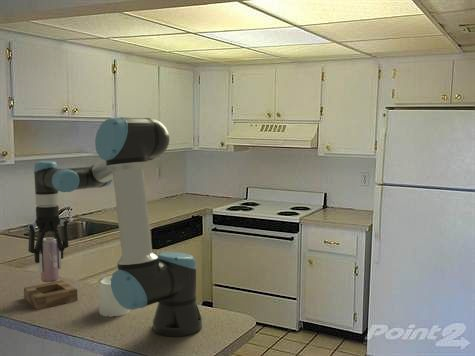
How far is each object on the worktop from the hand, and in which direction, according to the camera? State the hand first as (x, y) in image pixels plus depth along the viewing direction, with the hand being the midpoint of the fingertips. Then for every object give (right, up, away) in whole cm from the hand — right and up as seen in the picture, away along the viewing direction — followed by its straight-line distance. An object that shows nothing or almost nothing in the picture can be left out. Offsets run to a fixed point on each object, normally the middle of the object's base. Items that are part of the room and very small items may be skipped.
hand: (49, 269), depth 183 cm
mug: (+25, -12, -9) cm, 29 cm away
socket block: (0, -11, +1) cm, 11 cm away
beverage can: (0, -4, 0) cm, 4 cm away
